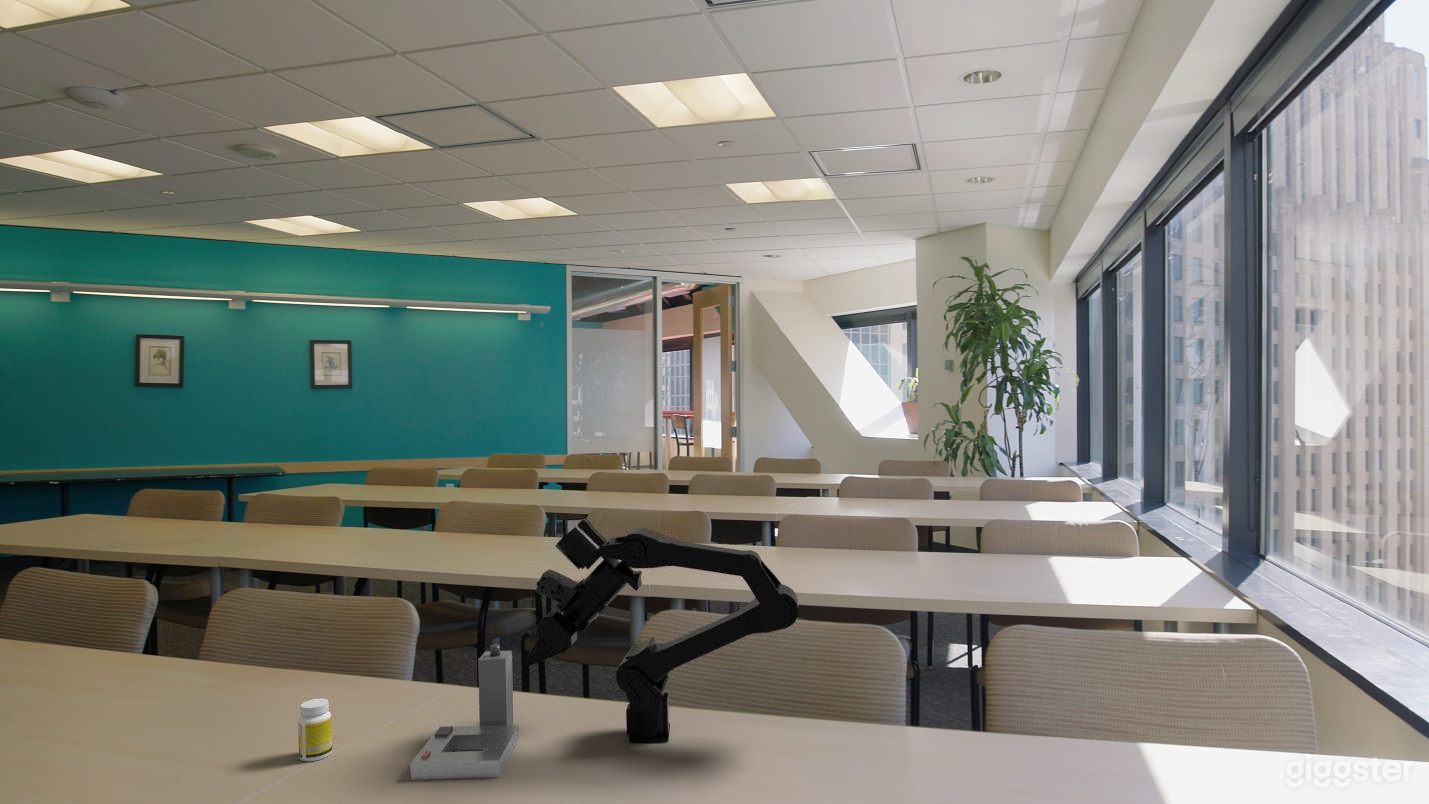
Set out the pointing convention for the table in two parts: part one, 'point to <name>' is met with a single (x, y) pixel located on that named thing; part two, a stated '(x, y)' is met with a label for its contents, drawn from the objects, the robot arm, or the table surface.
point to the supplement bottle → (314, 730)
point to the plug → (495, 687)
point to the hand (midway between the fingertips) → (536, 654)
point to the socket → (447, 764)
